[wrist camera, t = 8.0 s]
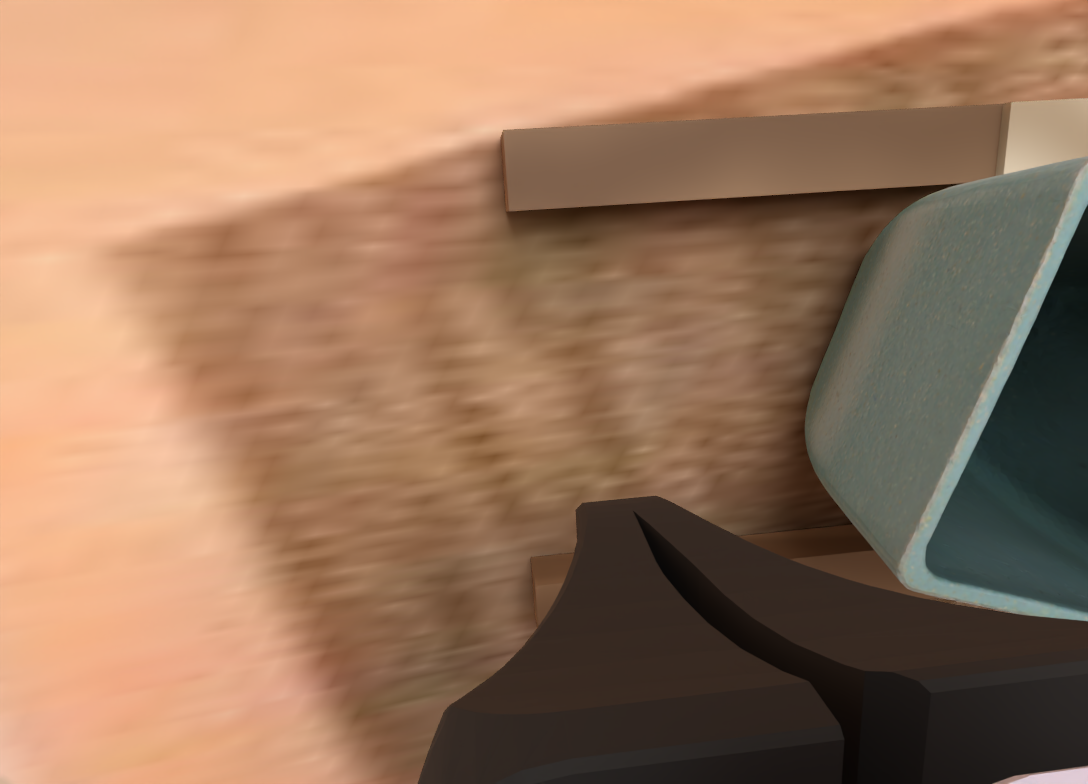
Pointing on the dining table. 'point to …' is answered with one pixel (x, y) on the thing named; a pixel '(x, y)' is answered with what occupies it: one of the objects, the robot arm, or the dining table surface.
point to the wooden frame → (773, 169)
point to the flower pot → (968, 394)
